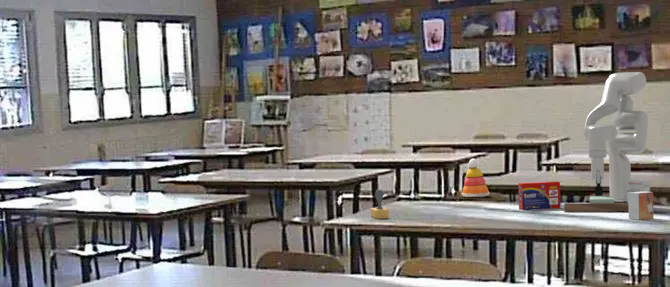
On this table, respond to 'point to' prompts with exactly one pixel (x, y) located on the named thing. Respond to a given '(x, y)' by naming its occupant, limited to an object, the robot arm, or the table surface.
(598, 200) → the green block
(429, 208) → the table surface
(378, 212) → the rubber stamp
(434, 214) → the table surface
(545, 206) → the toy box
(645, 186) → the ink box
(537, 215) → the table surface
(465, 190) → the stacking toy
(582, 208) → the walnut board
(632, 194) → the small box
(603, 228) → the table surface
